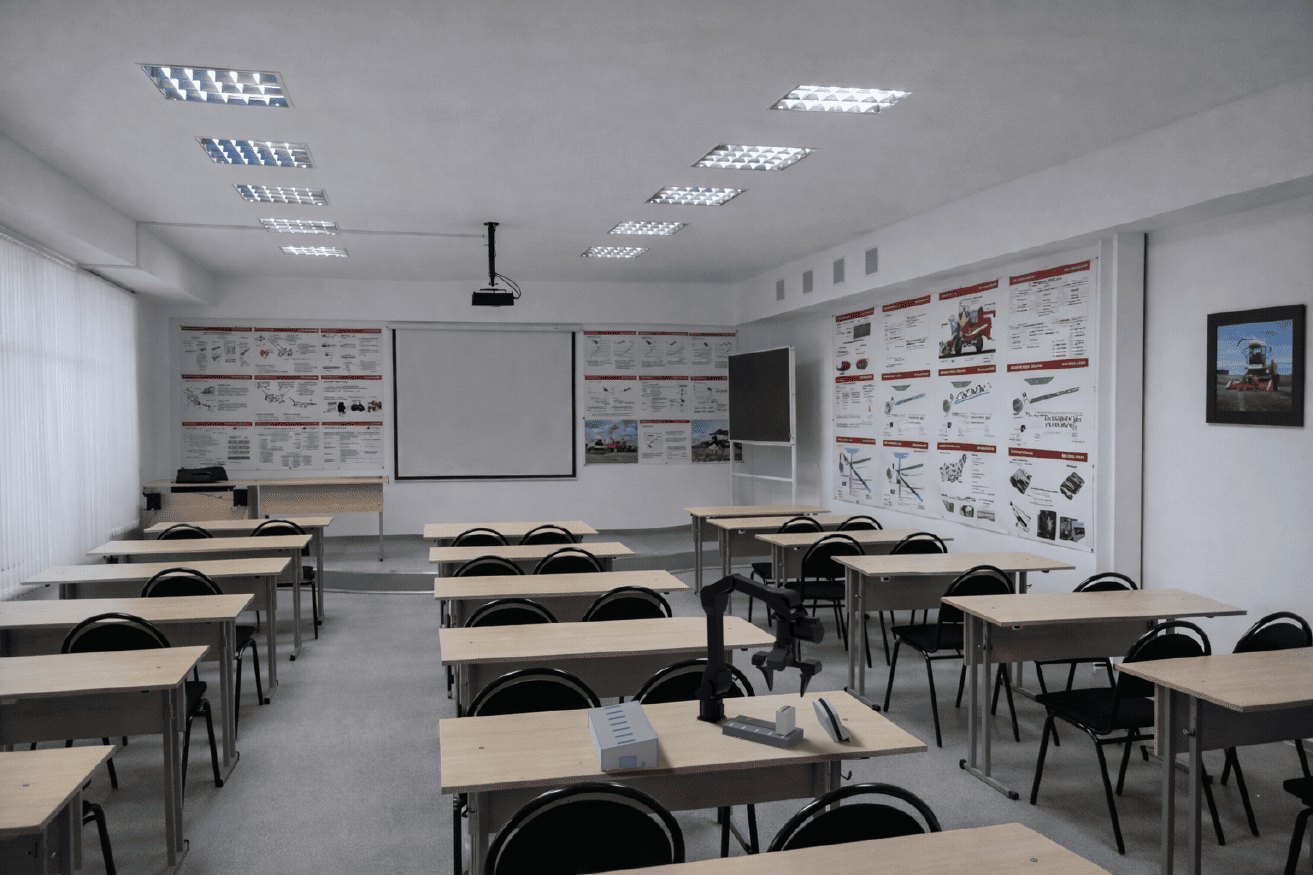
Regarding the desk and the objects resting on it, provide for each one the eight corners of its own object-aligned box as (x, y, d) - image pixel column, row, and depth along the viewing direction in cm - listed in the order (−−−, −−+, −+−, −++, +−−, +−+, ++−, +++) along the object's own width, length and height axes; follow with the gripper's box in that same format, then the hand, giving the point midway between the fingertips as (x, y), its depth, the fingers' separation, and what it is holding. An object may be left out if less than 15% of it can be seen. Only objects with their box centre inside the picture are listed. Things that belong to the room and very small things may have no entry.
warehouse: (588, 729, 237) (588, 703, 237) (638, 726, 240) (638, 700, 240) (601, 772, 208) (601, 742, 208) (657, 767, 211) (657, 738, 210)
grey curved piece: (852, 741, 227) (840, 707, 227) (836, 748, 227) (824, 713, 226) (835, 720, 244) (823, 688, 243) (820, 726, 243) (808, 694, 243)
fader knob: (775, 733, 226) (775, 710, 226) (785, 726, 231) (785, 704, 231) (785, 735, 224) (785, 712, 224) (795, 728, 229) (795, 706, 229)
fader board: (722, 733, 233) (722, 724, 233) (739, 723, 241) (739, 714, 241) (787, 749, 222) (787, 739, 222) (803, 737, 230) (803, 728, 230)
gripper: (742, 638, 226) (741, 695, 226) (806, 648, 215) (806, 708, 216) (760, 630, 235) (760, 685, 235) (823, 639, 225) (822, 697, 225)
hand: (786, 694), depth 227 cm, fingers open, 9 cm apart
